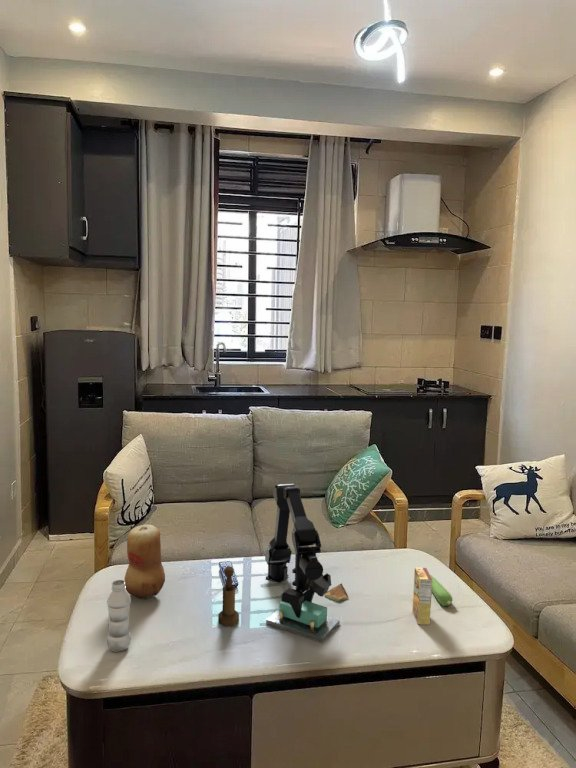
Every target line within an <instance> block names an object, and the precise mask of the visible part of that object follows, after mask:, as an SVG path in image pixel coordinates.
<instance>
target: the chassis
mask: <svg viewBox="0 0 576 768" xmlns="http://www.w3.org/2000/svg"><path fill="white" fill-rule="evenodd" d="M265 625H268V626H271V627H273V628H277V629H280V630H284V631H286V632H289V633H293V634H295V635H299V636H301V637H304V638H307V639H311V640H313V641H317V642H319V643H324V642H325V641H326V639H328V637H329V636H331V634H332V633H333V632H334V631H335V630H336V629H337V628H338V627H339V626H340V619H337V618H334V617H331V616H328V615H327V620H326V621H325V622H324V623H323V624H322V625H320V626H319V627H318V628H316V627H314V621H313V620H312V621H310V625H308V624H305V623H302V622H299V621H296V620H293V619H290V618H287V617H284V616H283V611H280V615H279V608H278V609H277V610H276V611H274V612H273V613H272V614H271V615H270V616H268V617H267V618H266V619H265Z"/></svg>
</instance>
